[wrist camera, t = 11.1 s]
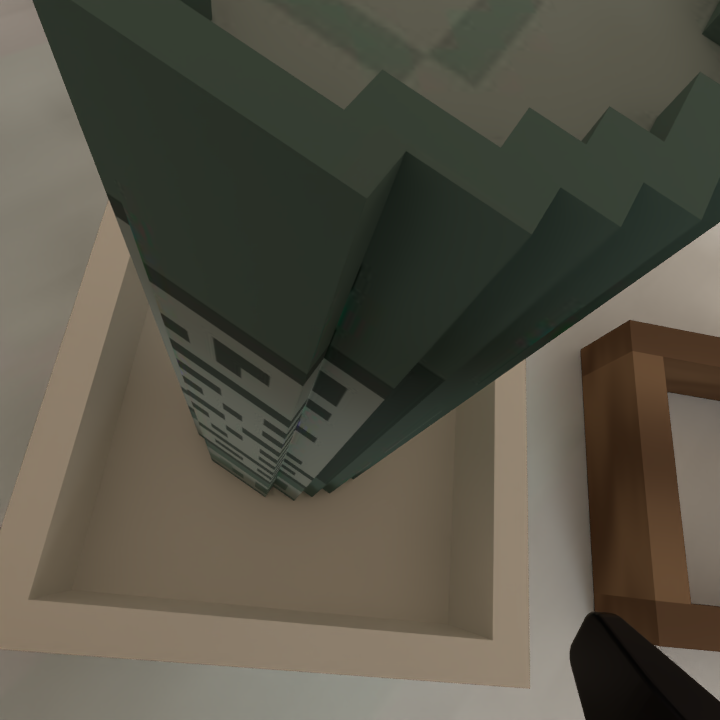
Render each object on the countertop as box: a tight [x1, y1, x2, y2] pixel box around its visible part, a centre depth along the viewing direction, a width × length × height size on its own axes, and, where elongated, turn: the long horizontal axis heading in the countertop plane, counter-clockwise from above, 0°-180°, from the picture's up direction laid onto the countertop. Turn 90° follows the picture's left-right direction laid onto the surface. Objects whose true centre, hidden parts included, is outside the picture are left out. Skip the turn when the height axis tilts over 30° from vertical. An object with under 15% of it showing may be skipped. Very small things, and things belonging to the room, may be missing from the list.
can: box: [33, 0, 720, 501], centre depth 11 cm, size 6×6×15 cm
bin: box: [0, 200, 530, 689], centre depth 16 cm, size 13×13×4 cm
